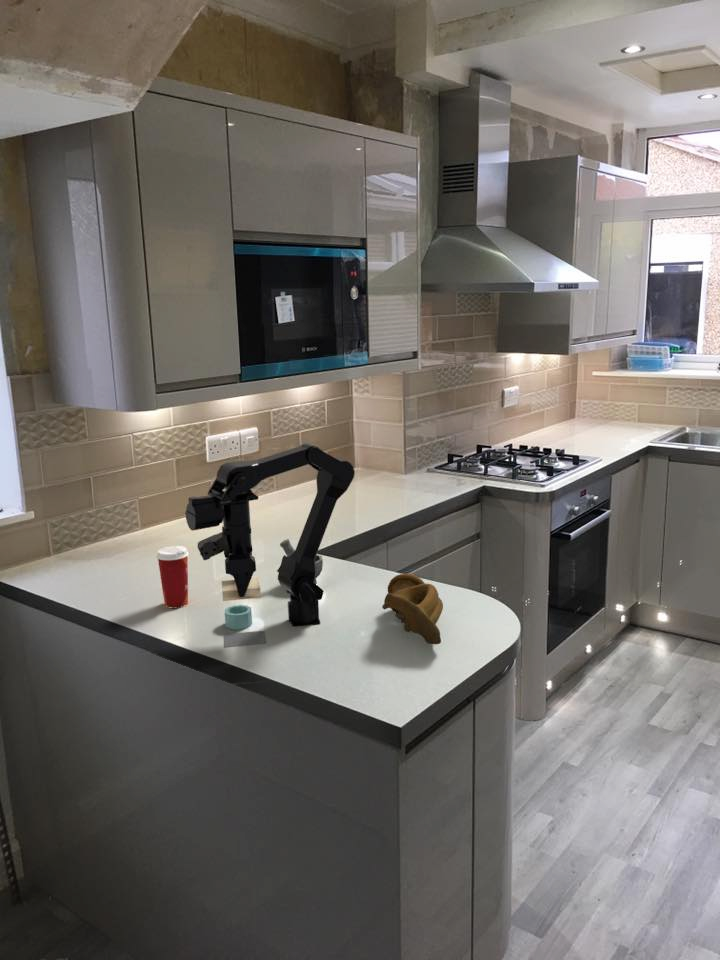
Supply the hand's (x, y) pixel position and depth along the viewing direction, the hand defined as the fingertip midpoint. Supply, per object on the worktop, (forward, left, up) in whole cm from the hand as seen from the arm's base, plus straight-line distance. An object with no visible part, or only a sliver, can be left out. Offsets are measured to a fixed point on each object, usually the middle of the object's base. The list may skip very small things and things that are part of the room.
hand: (241, 591), depth 170 cm
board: (0, 0, -1) cm, 1 cm away
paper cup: (+16, -24, -11) cm, 31 cm away
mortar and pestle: (-16, -31, -11) cm, 37 cm away
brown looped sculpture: (-38, +4, -11) cm, 39 cm away
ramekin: (+1, -7, -11) cm, 13 cm away
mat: (0, +2, -11) cm, 11 cm away
